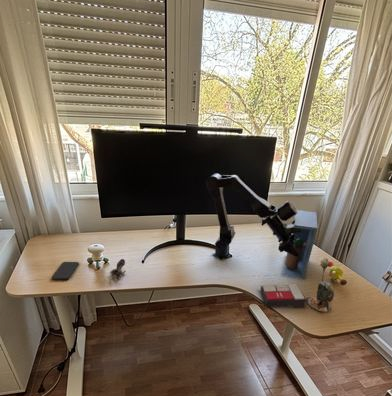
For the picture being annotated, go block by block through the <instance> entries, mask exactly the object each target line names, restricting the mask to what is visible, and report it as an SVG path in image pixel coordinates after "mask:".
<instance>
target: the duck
mask: <svg viewBox="0 0 392 396" xmlns="http://www.w3.org/2000/svg"><path fill="white" fill-rule="evenodd" d="M303 245H304V246H306V245H307V243H304V242H303V240H302V239H300V238H299V239H296V240H295V242H294V245H293V246H294V248H295V250H296V252H297V254H298V256H294V255H292V254H289V253H287V252H286V255H285V261H284V267H285V266H287V267H289V268H297V267H298V263H299V259H300V255H301V252H302V248H303Z"/></svg>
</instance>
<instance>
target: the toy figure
mask: <svg viewBox="0 0 392 396" xmlns="http://www.w3.org/2000/svg"><path fill="white" fill-rule="evenodd" d="M328 262H329V265H328V266H327V268H329V270H330V271H329V272H328V275H329V276H330V277H331V279H330V280H331V281H332V282H333V283H334V282H335V283H337V280H340V281H339V283H340V285H342V286H345V285H347V284H348V280H346V279H344V278H343V275H344V271H343V269H342V268H341V267H339V266H334V263H333V262H332V261H328Z"/></svg>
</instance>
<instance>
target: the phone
mask: <svg viewBox="0 0 392 396" xmlns="http://www.w3.org/2000/svg"><path fill="white" fill-rule="evenodd" d="M79 265H80V263H79V261H63V262H62V263H61V264H60V266H58V267H57V269H56V270H55V272H54V273H53V275H52V276H51V279H52V280H55V281H57V280H60V281H61V280H63V281H64V280H65V281H67V280H70V279H71V277H72V276H73V274H74V273H75V271H76V269H77V268H78V266H79Z"/></svg>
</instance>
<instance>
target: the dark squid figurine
mask: <svg viewBox="0 0 392 396" xmlns="http://www.w3.org/2000/svg"><path fill="white" fill-rule="evenodd" d="M125 265H126V260H125V259H124V258H122V259H121V258H120V259H119V261H118V262H117V263H116V267H115V268H113V269H112V270H111V271H110V272H109V274H110V275H113V274H115V277H116V278H117V281H119V279H120V278H121V276H125V273H126V270H124V271H122V269H123V267H124V266H125Z"/></svg>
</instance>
